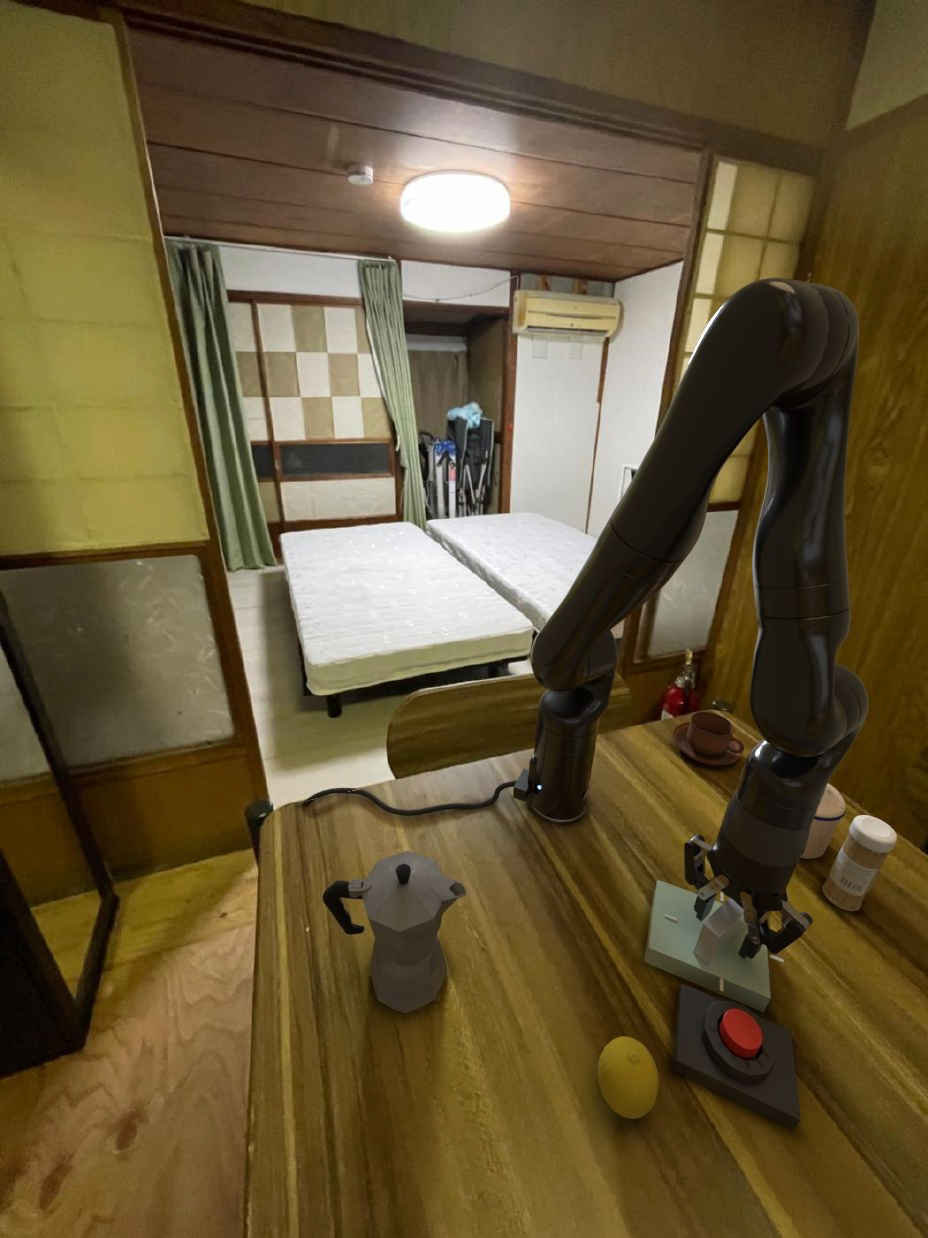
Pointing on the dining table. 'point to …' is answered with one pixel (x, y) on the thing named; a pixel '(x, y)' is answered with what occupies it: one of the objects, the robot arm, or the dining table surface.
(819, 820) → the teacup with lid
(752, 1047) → the tap button
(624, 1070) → the lemon
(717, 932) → the gray rectangular block
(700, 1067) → the button block
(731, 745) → the cup and saucer
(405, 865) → the coffeepot
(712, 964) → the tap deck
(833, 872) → the sprinkles bottle
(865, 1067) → the dining table surface
